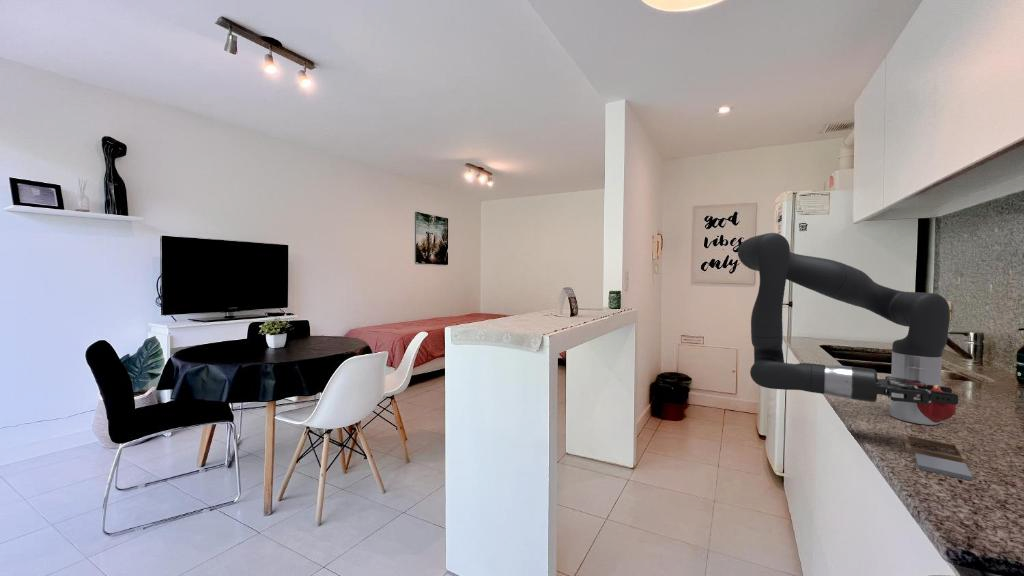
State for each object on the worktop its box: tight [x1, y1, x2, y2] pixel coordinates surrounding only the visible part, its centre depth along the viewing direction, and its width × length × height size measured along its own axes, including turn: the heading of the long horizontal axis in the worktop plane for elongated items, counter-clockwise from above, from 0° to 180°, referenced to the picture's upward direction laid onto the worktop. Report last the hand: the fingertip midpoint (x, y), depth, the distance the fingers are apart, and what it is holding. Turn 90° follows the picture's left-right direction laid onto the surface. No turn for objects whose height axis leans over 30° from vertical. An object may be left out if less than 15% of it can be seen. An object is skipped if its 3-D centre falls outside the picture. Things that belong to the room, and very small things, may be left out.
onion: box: [917, 385, 957, 423], centre depth 87 cm, size 6×6×8 cm
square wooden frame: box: [902, 434, 969, 465], centre depth 87 cm, size 9×9×1 cm
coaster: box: [914, 453, 974, 482], centre depth 79 cm, size 7×7×1 cm
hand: (953, 395), depth 85 cm, fingers closed on onion, 5 cm apart
